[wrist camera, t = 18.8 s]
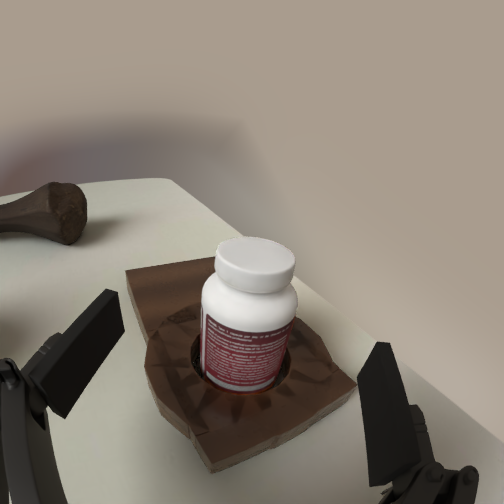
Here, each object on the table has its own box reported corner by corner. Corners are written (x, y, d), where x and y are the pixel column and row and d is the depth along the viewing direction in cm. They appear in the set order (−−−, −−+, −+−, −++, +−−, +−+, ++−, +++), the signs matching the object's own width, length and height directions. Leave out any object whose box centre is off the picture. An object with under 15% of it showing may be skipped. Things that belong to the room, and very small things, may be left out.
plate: (355, 396, 19) (367, 378, 18) (195, 481, 12) (194, 472, 11) (228, 271, 35) (230, 253, 34) (118, 290, 28) (115, 271, 27)
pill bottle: (290, 386, 20) (331, 269, 15) (221, 415, 17) (235, 292, 12) (251, 339, 25) (270, 228, 20) (188, 358, 21) (188, 236, 17)
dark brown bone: (92, 244, 41) (-16, 261, 34) (90, 184, 41) (-17, 210, 34) (68, 239, 30) (-48, 261, 23) (68, 165, 30) (-47, 201, 23)
